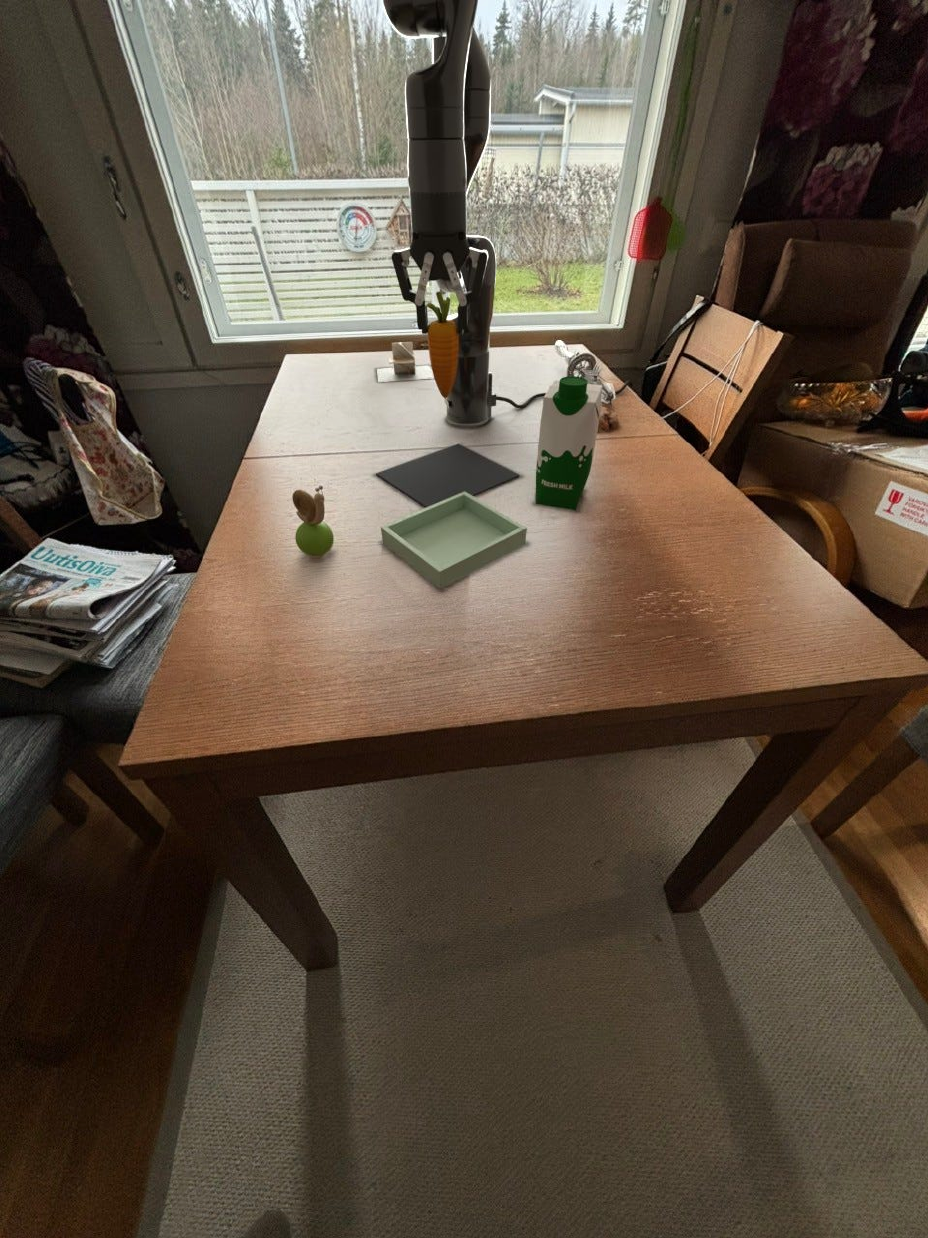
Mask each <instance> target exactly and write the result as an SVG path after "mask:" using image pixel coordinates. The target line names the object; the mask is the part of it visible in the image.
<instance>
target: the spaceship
mask: <svg viewBox="0 0 928 1238" xmlns="http://www.w3.org/2000/svg"><path fill="white" fill-rule="evenodd" d="M554 349H555V352H556V353H557V354H558V355H559V357H561V358H564V360H565V362H566V365H567V367H566V377H568V376H575V375H577V376H576V377H582V378H584V379H586V380H587V382H588V383H587V384H593V385H602V394H601V403H604V404H606V406H607V405H610V406H612V405H613V404H612V401H614V400H616V399H617V398H616V395H615V391H616V390H615V387H614V385H613V383H611V382H606V380H605V379H604V378H603V377H602V376H601V375H600V373H601V371H602V369H603V368H602V367H600V365H599V364H598V363H597V360H596V357H595V356H594V355H593V354H591V353H589V352H583V353H580V352H579V351H578V350H575V352H571V351H569V348H568V345H567V344H566V343H565V342H564V341H563V340H562V339H561V340H560V339H558V340H556V341H555V343H554ZM586 364H588V365H586ZM602 380H603V381H604V382H603V381H602Z"/></svg>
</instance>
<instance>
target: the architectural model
mask: <svg viewBox="0 0 928 1238" xmlns="http://www.w3.org/2000/svg"><path fill="white" fill-rule="evenodd" d="M413 345H414V344H413V341H404V342H391V351H392V358H388V364H389V365H393V367H384V368H383V367H382V368H381V367H380V368H376V373H377V381H378V383H386V382H387V383H388V382H401V381H403V382H404V381H416V380H418V381H419V380H431V379H433V380H435V379H434V375H433V371H432V367H431V364H429V365H416V357H415V353H414V347H413Z"/></svg>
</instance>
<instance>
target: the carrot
mask: <svg viewBox="0 0 928 1238" xmlns="http://www.w3.org/2000/svg"><path fill="white" fill-rule="evenodd" d="M435 295H436V298H437V299H436V300H437V302H438V305H439V306H436V305H435V304H433V303H432V302H428V303H427V308H428V309H430V310H432V311H433V312H434V314H435V315H436V318H437V319H436V320H434V321H431V322H430V323H428V328H427V332H428V333H427V344H428V355H429V360H430V367H431V370H432V372H433V375H434V379H433V380H434V381H435V384H436V387H437V389H438V391H439V393H440V395H441V397H443V398H444V399H445V398H447V397H448V396H449V394H450V391H451V389H452V387H453V384H454V381H455V377H456V371H457V364H458V350H459V334H458V327H457V325H456V324H455V323H454V322H453V321H451V320H447V317H449V312H450V306H451V298H450V297H449V296H446V298H445V299H444V296H443V294H442V291H437V292H436V293H435Z"/></svg>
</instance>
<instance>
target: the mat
mask: <svg viewBox="0 0 928 1238" xmlns="http://www.w3.org/2000/svg"><path fill="white" fill-rule="evenodd" d="M375 476H376V477H378V478H379V479H381V480H383V481H384V482H385V483H387V484H388V485H390V486H391V487H393V488H395V489H396V490H398V491H399V492H401V493H402V494H404V495H405V496H407V497H408V498H409V499H411V500H412V501H415V503H417V504H418V505H420V506H422V507H424V508H427V507H429V506H431V505H434V504H436V503H438V502H441V501H443V500H446V499H448V498H450V497H453V496H455V495H457V494H460V493H462V492H467V493H468V494H470V495H472V496H473V497H477V496H478V495H481V494H483V493H486V492H488V491H490V490H492V489H495V488H496V487H499V486H501V485H504V484H506V483H509V482H511V481H513V480H516V479H518V478H520V474H519V473H517V472H515V471H513V470H511V469H509V468H507V467H505V466H503V465H501V464H500V463H497V462H495V461H494V460H491V459H489V458H488V457H486V456H483V455H481V454H480V453H478V452H475V451H474V450H473V449H470V448H468V447H466V446H464V445H463V444H460V443H456V444H453V445H450V446H448V447H445V448H442V449H439V450H437V451H434V452H431V453H428V454H426V455H423V456H420V457H417V458H415V459H412V460H409V461H406V462H404V463H401V464H398V465H395V466H393V467H390V468H387V469H384V470H382V471H379V472H376V473H375Z"/></svg>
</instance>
